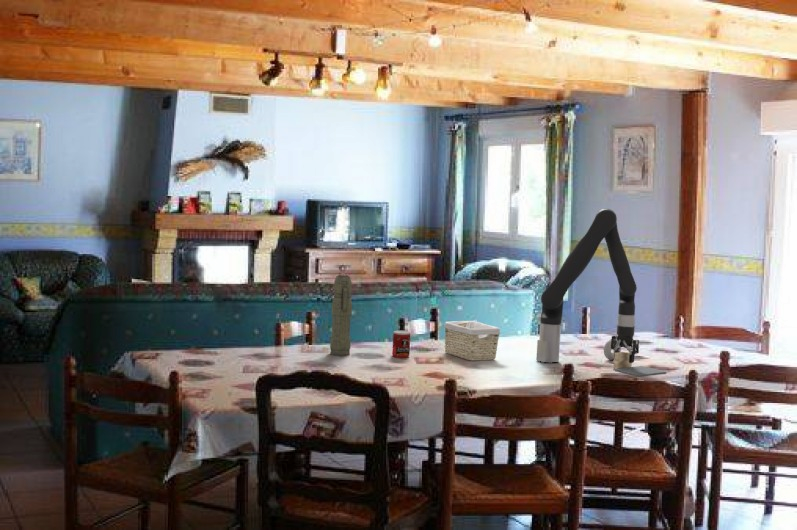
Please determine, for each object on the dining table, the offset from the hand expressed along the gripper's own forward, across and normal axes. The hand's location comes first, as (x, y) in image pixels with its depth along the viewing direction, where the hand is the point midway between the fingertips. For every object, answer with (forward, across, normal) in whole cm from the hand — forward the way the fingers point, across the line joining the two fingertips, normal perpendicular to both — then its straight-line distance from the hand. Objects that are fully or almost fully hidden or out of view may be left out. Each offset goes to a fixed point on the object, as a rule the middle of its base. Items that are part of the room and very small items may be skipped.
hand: (623, 361), depth 437 cm
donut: (+3, -16, +10) cm, 19 cm away
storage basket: (+3, -47, -49) cm, 68 cm away
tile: (+3, 0, 0) cm, 3 cm away
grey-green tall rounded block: (+2, -72, -102) cm, 125 cm away
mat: (+3, +9, +1) cm, 9 cm away
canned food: (+2, -58, -79) cm, 98 cm away
